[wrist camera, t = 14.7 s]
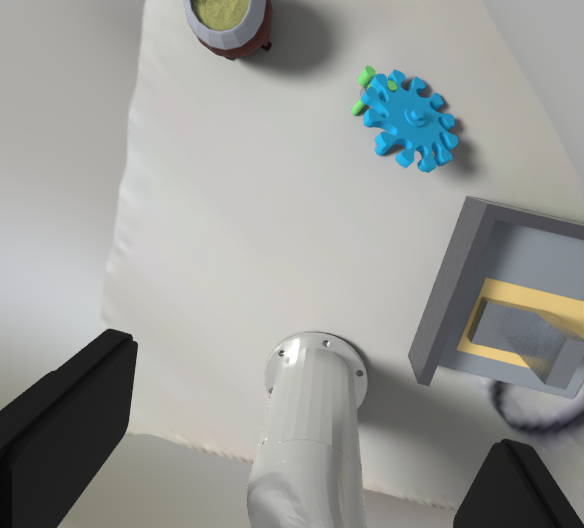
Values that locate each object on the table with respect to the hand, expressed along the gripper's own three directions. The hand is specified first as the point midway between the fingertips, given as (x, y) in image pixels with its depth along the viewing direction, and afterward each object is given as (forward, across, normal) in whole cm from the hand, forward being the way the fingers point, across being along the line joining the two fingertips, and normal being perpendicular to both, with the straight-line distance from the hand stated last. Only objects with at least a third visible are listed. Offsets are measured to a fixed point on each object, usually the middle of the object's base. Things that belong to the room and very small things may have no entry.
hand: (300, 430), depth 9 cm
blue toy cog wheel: (+33, -4, -11) cm, 35 cm away
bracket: (+32, -22, +7) cm, 39 cm away
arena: (+32, -24, +5) cm, 40 cm away
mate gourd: (+33, +13, -16) cm, 38 cm away
